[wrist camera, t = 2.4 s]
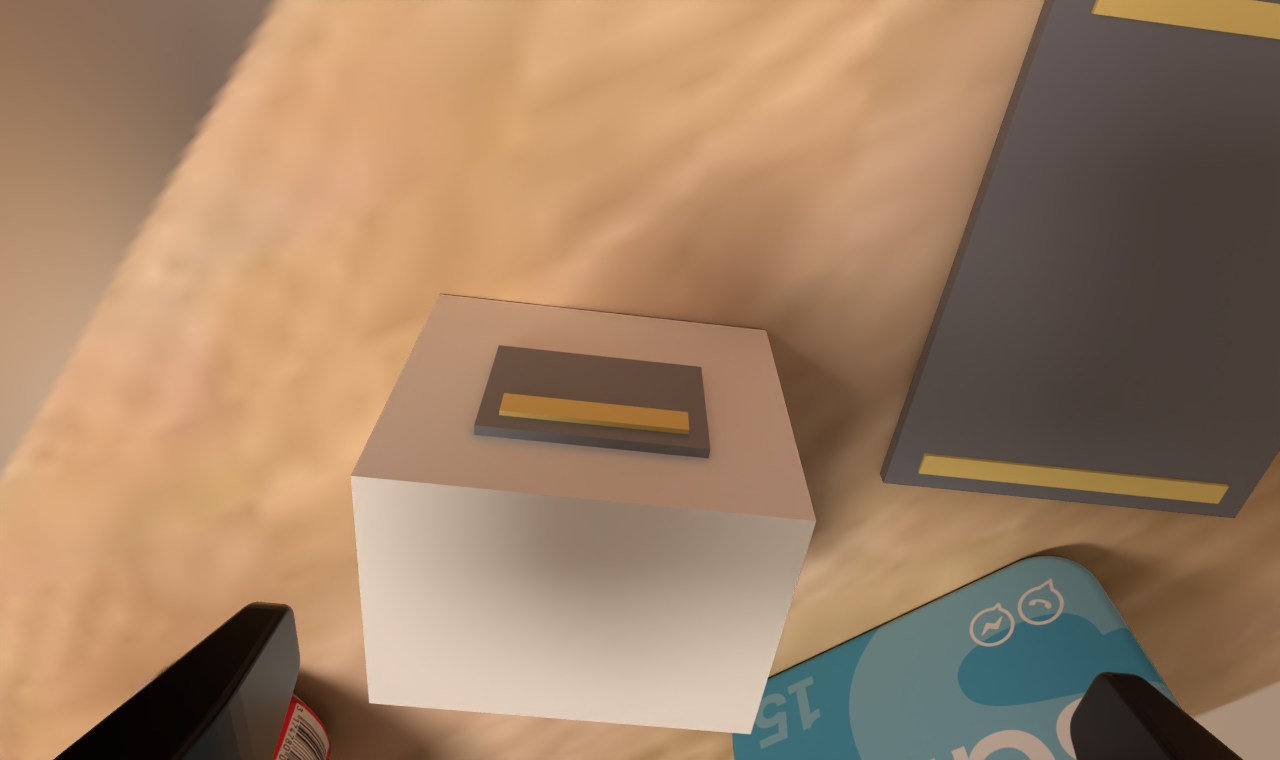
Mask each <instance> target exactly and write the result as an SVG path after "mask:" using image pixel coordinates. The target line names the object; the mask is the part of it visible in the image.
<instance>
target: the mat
mask: <svg viewBox="0 0 1280 760" xmlns="http://www.w3.org/2000/svg"><path fill="white" fill-rule="evenodd" d="M1279 450H1280V0H1045V2H1044V5H1043V7H1042V10H1041V13H1040V16H1039V19H1038V22H1037V25H1036V28H1035V30H1034V33H1033V36H1032V39H1031V42H1030V45H1029V48H1028V51H1027V53H1026V56H1025V59H1024V62H1023V65H1022V68H1021V71H1020V73H1019V76H1018V79H1017V82H1016V85H1015V88H1014V91H1013V94H1012V96H1011V99H1010V102H1009V105H1008V108H1007V111H1006V114H1005V117H1004V119H1003V122H1002V125H1001V128H1000V131H999V134H998V137H997V139H996V142H995V145H994V148H993V151H992V154H991V157H990V160H989V162H988V165H987V168H986V171H985V174H984V177H983V180H982V183H981V185H980V188H979V191H978V194H977V197H976V200H975V203H974V205H973V208H972V211H971V214H970V217H969V220H968V223H967V226H966V228H965V231H964V234H963V237H962V240H961V243H960V246H959V249H958V251H957V254H956V257H955V260H954V263H953V266H952V269H951V271H950V274H949V277H948V280H947V283H946V286H945V289H944V292H943V294H942V297H941V300H940V303H939V306H938V309H937V312H936V315H935V317H934V320H933V323H932V326H931V329H930V332H929V335H928V337H927V340H926V343H925V346H924V349H923V352H922V355H921V358H920V360H919V363H918V366H917V369H916V372H915V375H914V378H913V381H912V383H911V386H910V389H909V392H908V395H907V398H906V401H905V403H904V406H903V409H902V412H901V415H900V418H899V421H898V424H897V426H896V429H895V432H894V435H893V438H892V441H891V444H890V447H889V449H888V452H887V455H886V458H885V461H884V464H883V467H882V469H881V472H880V475H881V477H882V480H883V482H884V483H891V484H901V485H911V486H921V487H931V488H941V489H951V490H961V491H970V492H980V493H990V494H1000V495H1010V496H1020V497H1030V498H1040V499H1050V500H1060V501H1070V502H1080V503H1090V504H1100V505H1110V506H1120V507H1129V508H1139V509H1149V510H1159V511H1169V512H1179V513H1189V514H1199V515H1209V516H1219V517H1229V518H1235V517H1236V515H1237V514H1238V512H1239V511H1240V509H1241V508H1242V506H1243V505H1244V503H1245V502H1246V500H1247V499H1248V497H1249V496H1250V494H1251V493H1252V491H1253V490H1254V488H1255V487H1256V485H1257V483H1258V482H1259V480H1260V479H1261V477H1262V476H1263V474H1264V473H1265V471H1266V470H1267V468H1268V467H1269V465H1270V464H1271V462H1272V461H1273V459H1274V458H1275V456H1276V455H1277V453H1278V452H1279Z"/></svg>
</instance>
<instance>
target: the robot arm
mask: <svg viewBox="0 0 1280 760" xmlns="http://www.w3.org/2000/svg"><path fill="white" fill-rule="evenodd" d="M299 666H300V652H299V646H298V639H297V632H296V625H295V618H294V613H293V610H292V609H291V607H290V606H289V605H286V604H278V603H265V602H254V603H251V604H249V605H247V606H245V607H244V608H242V609H241V610H240V611H239V612H237V613H236V614H235V615H234V616H232V617H231V618H230V619H229V620H227V621H226V622H225V623H224V624H222V625H221V626H220V627H219V628H217V629H216V630H215V631H214V632H212V633H211V634H210V635H209V636H207V637H206V638H205V639H204V640H202V641H201V642H200V643H199V644H197V645H196V646H195V647H194V648H192V649H191V650H190V651H189V652H187V653H186V654H185V655H184V656H182V657H181V658H180V659H179V660H177V661H176V662H175V663H174V664H172V665H171V666H170V667H169V668H167V669H166V670H165V671H164V672H162V673H161V674H160V675H159V676H157V677H156V678H155V679H154V680H152V681H151V682H150V683H149V684H147V685H146V686H145V687H144V688H142V689H141V690H140V691H139V692H137V693H136V694H135V695H134V696H132V697H131V698H130V699H129V700H127V701H126V702H125V703H123V704H122V705H121V706H120V707H118V708H117V709H116V710H115V711H113V712H112V713H111V714H110V715H108V716H107V717H106V718H105V719H103V720H102V721H101V722H100V723H98V724H97V725H96V726H95V727H93V728H92V729H91V730H90V731H88V732H87V733H86V734H85V735H83V736H82V737H81V738H80V739H78V740H77V741H76V742H75V743H73V744H72V745H71V746H70V747H68V748H67V749H66V750H65V751H63V752H62V753H61V754H60V755H58V756H57V757H56V758H55V759H53V760H272V759H273V755H274V752H275V749H276V746H277V742H278V739H279V736H280V733H281V729H282V726H283V723H284V720H285V716H286V713H287V710H288V706H289V703H290V700H291V697H292V693H293V690H294V687H295V684H296V680H297V677H298V672H299ZM1070 736H1071V741H1072V745H1073V748H1074V752H1075V755H1076V759H1077V760H1243V759H1242V758H1240V757H1239V756H1238V755H1237V754H1236V753H1234V752H1233V751H1232V750H1231V749H1229V748H1228V747H1227V746H1226V745H1224V744H1223V743H1222V742H1221V741H1220V740H1218V739H1217V738H1216V737H1215V736H1214V735H1212V734H1211V733H1210V732H1209V731H1207V730H1206V729H1205V728H1204V727H1203V726H1201V725H1200V724H1199V723H1198V722H1197V721H1195V720H1194V719H1193V718H1192V717H1190V716H1189V715H1188V714H1187V713H1186V712H1184V711H1183V710H1182V709H1181V708H1179V707H1178V706H1177V705H1176V704H1175V703H1173V702H1172V701H1171V700H1170V699H1168V698H1167V697H1166V696H1165V695H1164V694H1162V693H1161V692H1160V691H1159V690H1157V689H1156V688H1155V687H1154V686H1153V685H1151V684H1150V683H1149V682H1148V681H1146V680H1145V679H1144V678H1142V677H1140V676H1138V675H1135V674H1130V673H1118V672H1101V673H1100V674H1098V675H1097V676H1095V678H1094V679H1093V681H1092V682H1091V684H1090V686H1089V687H1088V689H1087V691H1086V692H1085V694H1084V696H1083V697H1082V699H1081V701H1080V703H1079V704H1078V706H1077V708H1076V709H1075V711H1074V713H1073V715H1072V717H1071V722H1070Z"/></svg>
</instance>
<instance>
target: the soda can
mask: <svg viewBox="0 0 1280 760" xmlns="http://www.w3.org/2000/svg"><path fill="white" fill-rule="evenodd" d="M154 679H155V678H153V679H151V680H150V681H148V682H146V683H144V684H143V685H141V686H140V687H139V688H138V689H137V690H136V691H135V692H134V693H133V694H132V695H131V697H132V696H134V695H135V694H136V693H137V692H139V691H140V690H141V689H142V688H144V687H145V686H146V685H147V684H149V683H150V682H151V681H152V680H154ZM131 697H130V698H131ZM130 698H129V699H130ZM129 699H128V700H129ZM330 752H331V751H330V740H329V736H328V733H327V731H326V729H325V727H324V725H323V723H322V722H321V721H320V719H319V718H318V717H317V716H316V714H315V713H314V712H313V711H312V710H311V709H310V708H309V707H308V706H307V705H306V704H305V703H304V702H302V700H301V699H300V698H299V697H298V696H297V695H296V694H294V693H292V697H291V700H290V703H289V706H288V710H287V713H286V716H285V720H284V723H283V726H282V729H281V733H280V736H279V739H278V742H277V746H276V749H275V752H274V755H273V759H272V760H329V756H330Z"/></svg>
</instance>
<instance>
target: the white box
mask: <svg viewBox="0 0 1280 760" xmlns="http://www.w3.org/2000/svg"><path fill="white" fill-rule="evenodd" d="M351 486H352V498H353V510H354V522H355V535H356V547H357V559H358V572H359V584H360V596H361V609H362V621H363V633H364V645H365V658H366V670H367V682H368V695H369V703H373V704H385V705H397V706H410V707H422V708H434V709H447V710H459V711H471V712H483V713H496V714H508V715H520V716H532V717H545V718H557V719H569V720H582V721H594V722H606V723H618V724H631V725H643V726H655V727H668V728H680V729H692V730H704V731H717V732H729V733H741V734H751V731H752V728H753V725H754V721H755V718H756V715H757V712H758V709H759V705H760V702H761V699H762V696H763V692H764V689H765V686H766V683H767V679H768V676H769V673H770V670H771V666H772V663H773V660H774V657H775V653H776V650H777V647H778V644H779V641H780V637H781V634H782V631H783V628H784V624H785V621H786V618H787V615H788V611H789V608H790V605H791V602H792V598H793V595H794V592H795V589H796V585H797V582H798V579H799V576H800V572H801V569H802V566H803V563H804V560H805V556H806V553H807V550H808V547H809V543H810V540H811V537H812V534H813V530H814V527H815V524H816V518H815V514H814V510H813V507H812V503H811V499H810V495H809V491H808V488H807V484H806V480H805V476H804V472H803V469H802V465H801V461H800V457H799V453H798V450H797V446H796V442H795V438H794V434H793V431H792V427H791V423H790V419H789V415H788V412H787V408H786V404H785V400H784V396H783V392H782V389H781V385H780V381H779V377H778V373H777V370H776V366H775V362H774V358H773V354H772V351H771V347H770V343H769V339H768V335H767V332H766V330H759V329H750V328H741V327H732V326H723V325H714V324H705V323H696V322H687V321H678V320H669V319H660V318H651V317H642V316H633V315H624V314H615V313H606V312H596V311H587V310H578V309H569V308H560V307H551V306H542V305H533V304H524V303H515V302H506V301H497V300H488V299H479V298H470V297H461V296H452V295H443V294H439V296H438V298H437V300H436V302H435V304H434V306H433V308H432V310H431V312H430V314H429V316H428V318H427V321H426V323H425V325H424V327H423V329H422V331H421V333H420V335H419V337H418V339H417V341H416V343H415V345H414V347H413V349H412V351H411V353H410V355H409V357H408V359H407V362H406V364H405V366H404V368H403V370H402V372H401V374H400V376H399V378H398V380H397V382H396V384H395V386H394V388H393V390H392V392H391V394H390V396H389V398H388V400H387V403H386V405H385V407H384V409H383V411H382V413H381V415H380V417H379V419H378V421H377V423H376V425H375V427H374V429H373V431H372V433H371V435H370V437H369V439H368V441H367V443H366V446H365V448H364V450H363V452H362V454H361V456H360V458H359V460H358V462H357V464H356V466H355V468H354V470H353V472H352V474H351Z"/></svg>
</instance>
